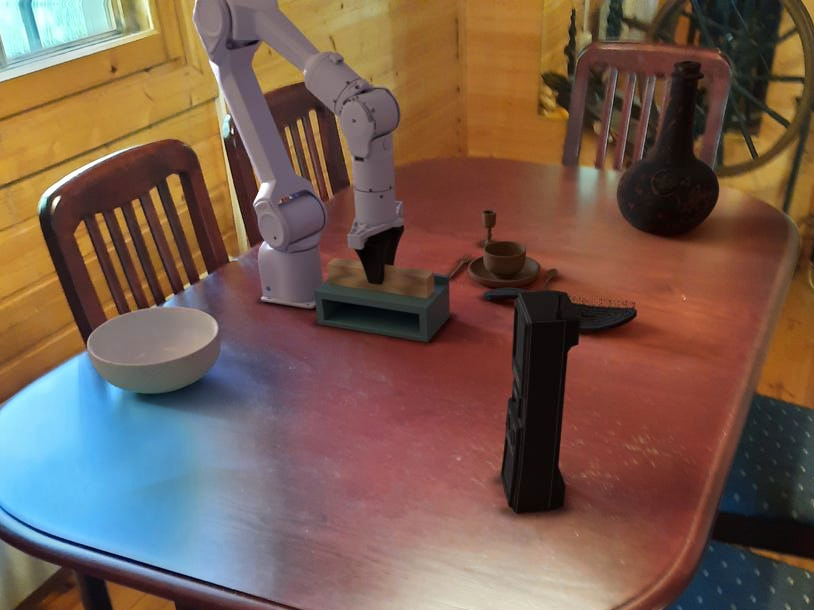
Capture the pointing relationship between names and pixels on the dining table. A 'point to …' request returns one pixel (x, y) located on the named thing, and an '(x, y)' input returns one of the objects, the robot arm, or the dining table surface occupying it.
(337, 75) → the robot arm
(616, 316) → the hairbrush
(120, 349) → the cereal bowl
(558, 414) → the portable radio
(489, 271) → the place setting
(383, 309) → the shelf
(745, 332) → the dining table surface
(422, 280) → the stick
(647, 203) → the glass bottle
